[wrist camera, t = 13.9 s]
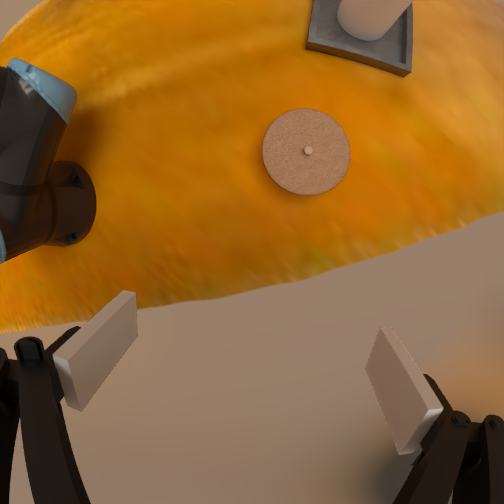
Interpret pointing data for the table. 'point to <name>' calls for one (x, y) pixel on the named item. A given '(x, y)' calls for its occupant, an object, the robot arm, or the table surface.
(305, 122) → the lidded jar
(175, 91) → the table surface
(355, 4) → the cup
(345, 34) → the square metal tray
